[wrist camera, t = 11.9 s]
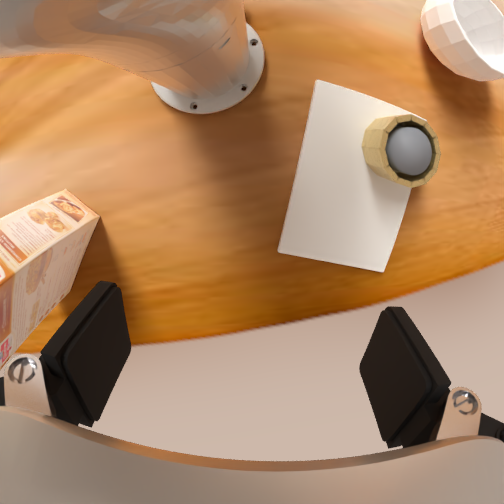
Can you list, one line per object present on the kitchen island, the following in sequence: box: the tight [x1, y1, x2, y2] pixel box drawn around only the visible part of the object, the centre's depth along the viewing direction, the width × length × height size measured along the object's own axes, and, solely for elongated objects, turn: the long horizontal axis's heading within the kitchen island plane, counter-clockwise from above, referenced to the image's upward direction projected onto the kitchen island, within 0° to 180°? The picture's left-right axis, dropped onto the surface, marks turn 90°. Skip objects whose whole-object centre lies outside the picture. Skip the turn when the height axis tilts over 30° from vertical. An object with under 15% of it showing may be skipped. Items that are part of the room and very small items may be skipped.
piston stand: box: [278, 79, 432, 272], centre depth 28 cm, size 20×14×6 cm
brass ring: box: [361, 114, 441, 188], centre depth 25 cm, size 7×7×5 cm
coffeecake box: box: [0, 189, 100, 369], centre depth 25 cm, size 15×7×20 cm, turn 143°
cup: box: [420, 0, 504, 82], centre depth 18 cm, size 12×12×10 cm
